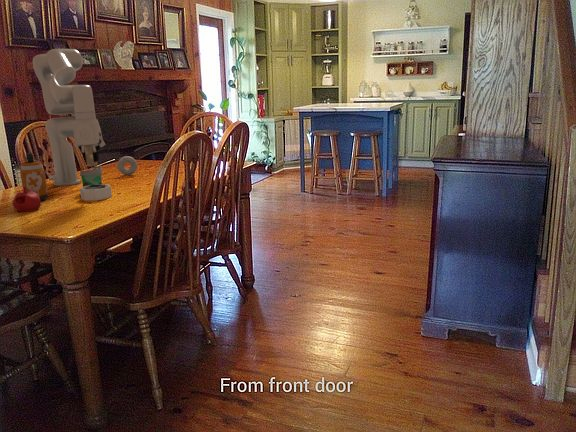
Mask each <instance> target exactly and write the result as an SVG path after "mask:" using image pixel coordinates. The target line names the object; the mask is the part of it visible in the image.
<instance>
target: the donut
mask: <svg viewBox="0 0 576 432" xmlns="http://www.w3.org/2000/svg"><path fill="white" fill-rule="evenodd" d="M126 163H128V164H129V165H130V167H129V168H126V167H125V164H126ZM116 167H117V170H118V171H119V172H120V174H122V175H125V176H132V175H133V174H135V172H136V171H137V170H138V163H137V161H136V159H135V158H134V157H132V156H127V155H125V156H122V157H120V158H119V159H118V161H117V166H116Z"/></svg>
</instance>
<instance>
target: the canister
mask: <svg viewBox="0 0 576 432" xmlns="http://www.w3.org/2000/svg"><path fill="white" fill-rule="evenodd" d="M25 154H26V157H25V158H23V159H22V160H20V171H19V173H20V180H21V184H22V190H24V189H23V187H24V186H26V189H28V191H31V190H32V191H31V192H35V193H37V194H38V195H39V197H40V202H41V201H45V200H47V199H48V198H49V194H48V193H49V192H48V191H49V190H48V186H47V185H48V184H47V180H46V178H47V177H46V172H45V169H44V168H43V164H42V161H40V160H39V161H38V160H35V161H34V159H35V158H34V155H33V152H30V153H28V152H26V153H25Z"/></svg>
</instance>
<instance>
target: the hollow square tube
mask: <svg viewBox="0 0 576 432" xmlns="http://www.w3.org/2000/svg"><path fill="white" fill-rule="evenodd" d="M101 188H105V183H102V184H98V185H90V186H88V187H86V190H95V189H101Z"/></svg>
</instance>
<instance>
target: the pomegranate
mask: <svg viewBox="0 0 576 432" xmlns="http://www.w3.org/2000/svg"><path fill="white" fill-rule="evenodd" d="M23 189H24V190H23ZM31 191H32V190H31ZM31 191H28V189H26V186H24V187H23V186H22V189H21V190H17V191H15V196H14V198H13V199H12V203H11V204H12V207H13V208H14V209H15V210H16V211H18V212H20V213H21V212H32V211H33V212H34V211H36V210H38V209H39V208H41V203H42V202H41V201H40V197H39V195H38V194H37V193H35V192H31Z"/></svg>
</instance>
